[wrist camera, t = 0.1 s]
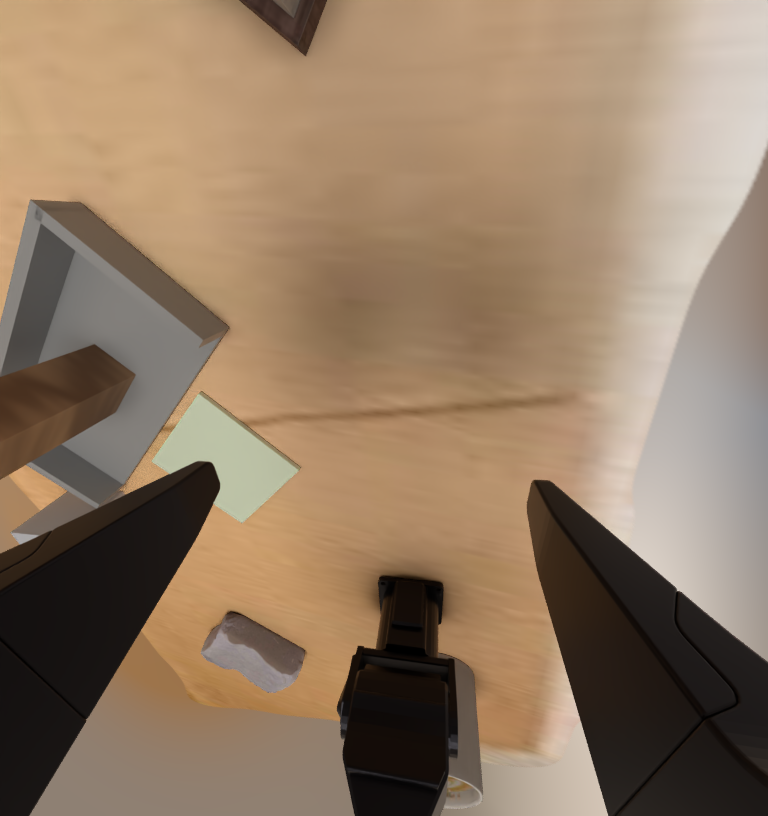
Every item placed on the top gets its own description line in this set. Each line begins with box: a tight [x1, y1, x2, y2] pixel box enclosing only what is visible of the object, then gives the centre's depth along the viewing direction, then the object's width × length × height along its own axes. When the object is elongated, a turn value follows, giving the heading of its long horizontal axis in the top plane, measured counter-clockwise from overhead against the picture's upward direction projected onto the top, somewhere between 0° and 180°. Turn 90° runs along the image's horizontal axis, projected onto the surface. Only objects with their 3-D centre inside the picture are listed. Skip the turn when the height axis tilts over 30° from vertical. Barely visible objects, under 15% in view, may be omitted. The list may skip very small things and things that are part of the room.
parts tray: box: [0, 200, 229, 509], centre depth 26 cm, size 11×23×3 cm, turn 137°
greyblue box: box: [11, 491, 125, 544], centre depth 34 cm, size 10×6×6 cm, turn 3°
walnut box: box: [0, 344, 136, 479], centre depth 23 cm, size 4×5×10 cm
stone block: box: [201, 612, 305, 693], centre depth 44 cm, size 12×5×10 cm
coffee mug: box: [438, 653, 483, 809], centre depth 38 cm, size 13×10×10 cm
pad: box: [152, 392, 301, 523], centre depth 30 cm, size 10×10×1 cm
